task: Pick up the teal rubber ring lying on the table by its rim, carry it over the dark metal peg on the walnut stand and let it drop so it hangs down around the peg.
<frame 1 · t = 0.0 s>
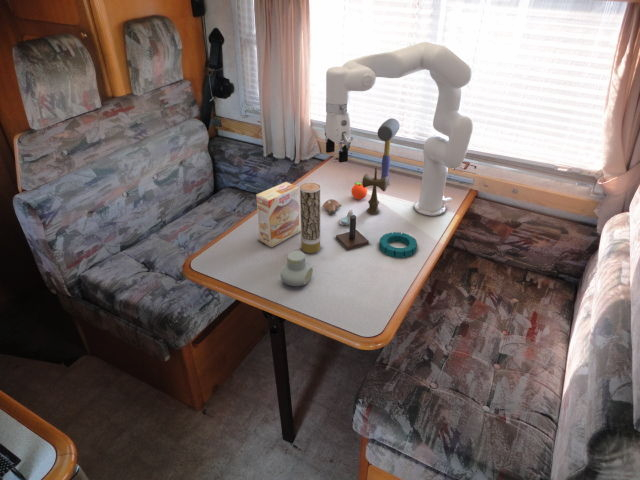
hand: (336, 156, 155), 31 cm above the table, tool pointing down, fingers open, 9 cm apart
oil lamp: (331, 210, 187), on the table
rubber mallet: (384, 184, 209), on the table
patterned cylinder: (311, 249, 162), on the table
coffeecake box: (280, 236, 170), on the table
air freshener: (297, 280, 147), on the table
pacifier: (347, 223, 178), on the table
clementine: (358, 198, 197), on the table
peg stand: (352, 241, 167), on the table
kendama: (373, 212, 186), on the table
ring: (397, 247, 163), on the table
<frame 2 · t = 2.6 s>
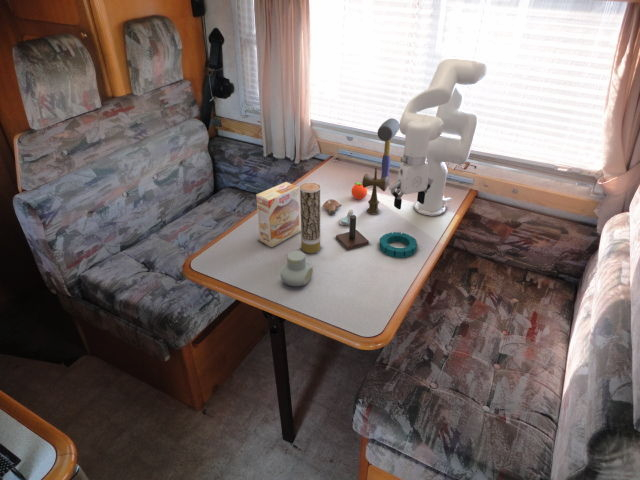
hand: (408, 205, 157), 16 cm above the table, tool pointing down, fingers open, 9 cm apart
nothing on the table moved.
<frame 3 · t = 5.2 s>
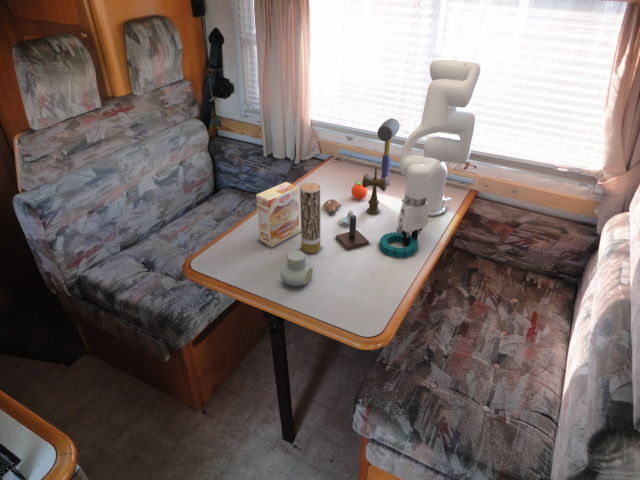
hand: (409, 243, 165), 0 cm above the table, tool pointing down, fingers closed on ring, 2 cm apart
ring: (397, 247, 163), on the table, touching gripper
everything else where it was.
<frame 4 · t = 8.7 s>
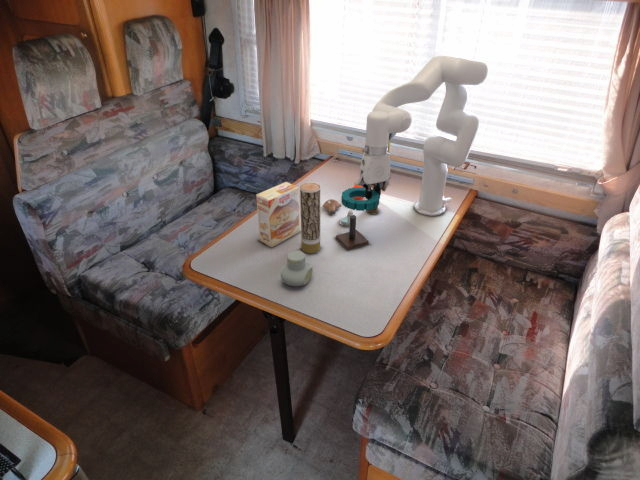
hand: (372, 198, 159), 17 cm above the table, tool pointing down, fingers closed on ring, 2 cm apart
ring: (360, 201, 158), point 17 cm above the table, touching gripper
everything else where it was.
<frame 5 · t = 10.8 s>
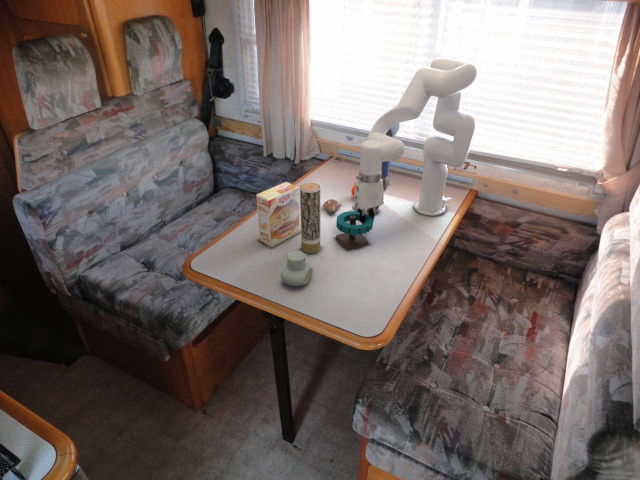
hand: (366, 221, 165), 7 cm above the table, tool pointing down, fingers closed on ring, 2 cm apart
ring: (354, 225, 163), point 7 cm above the table, touching gripper
everything else where it was.
when the fingers open (2 cm above the table, at t = 12.6 s): ring stays where it is, resting on peg stand.
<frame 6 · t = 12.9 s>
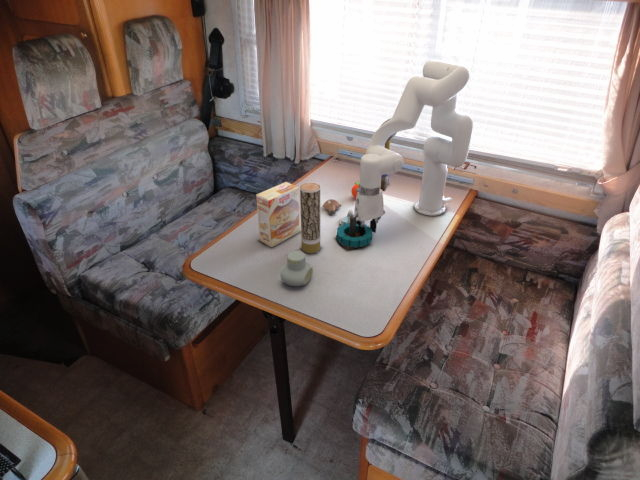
hand: (367, 232, 168), 2 cm above the table, tool pointing down, fingers open, 4 cm apart
ring: (354, 237, 166), point 1 cm above the table, touching peg stand
everything else where it was.
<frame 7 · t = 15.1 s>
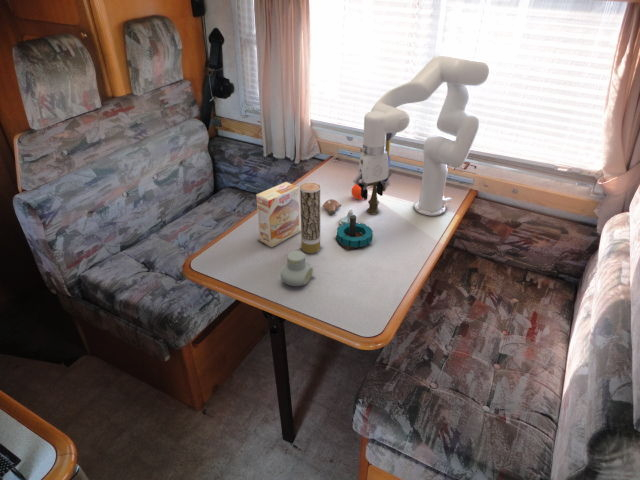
hand: (371, 195, 161), 17 cm above the table, tool pointing down, fingers open, 5 cm apart
nothing on the table moved.
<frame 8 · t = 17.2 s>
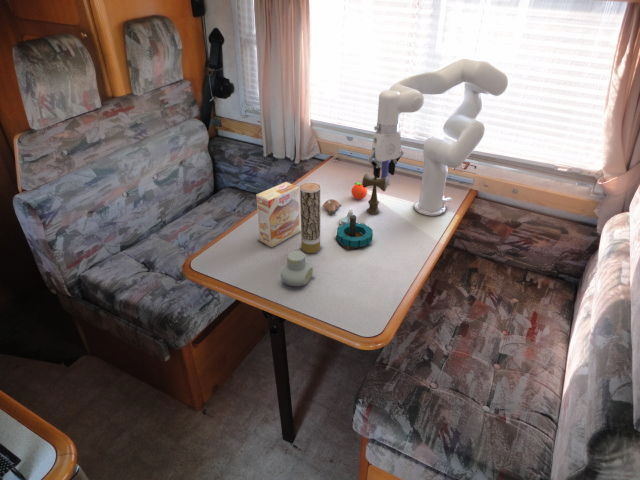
hand: (383, 174, 166), 22 cm above the table, tool pointing down, fingers open, 5 cm apart
nothing on the table moved.
at the end: ring 1.0 cm from the peg stand (horizontally); ring point 1.5 cm above the table; the gripper is holding nothing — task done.
